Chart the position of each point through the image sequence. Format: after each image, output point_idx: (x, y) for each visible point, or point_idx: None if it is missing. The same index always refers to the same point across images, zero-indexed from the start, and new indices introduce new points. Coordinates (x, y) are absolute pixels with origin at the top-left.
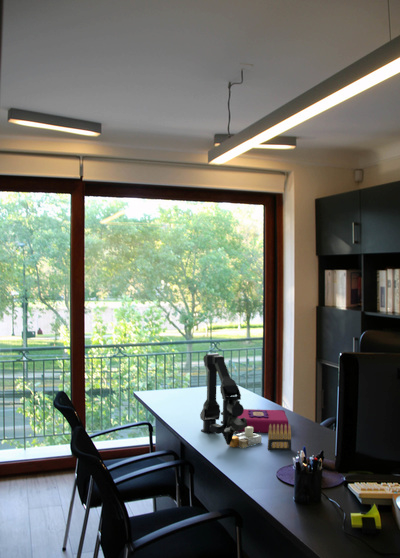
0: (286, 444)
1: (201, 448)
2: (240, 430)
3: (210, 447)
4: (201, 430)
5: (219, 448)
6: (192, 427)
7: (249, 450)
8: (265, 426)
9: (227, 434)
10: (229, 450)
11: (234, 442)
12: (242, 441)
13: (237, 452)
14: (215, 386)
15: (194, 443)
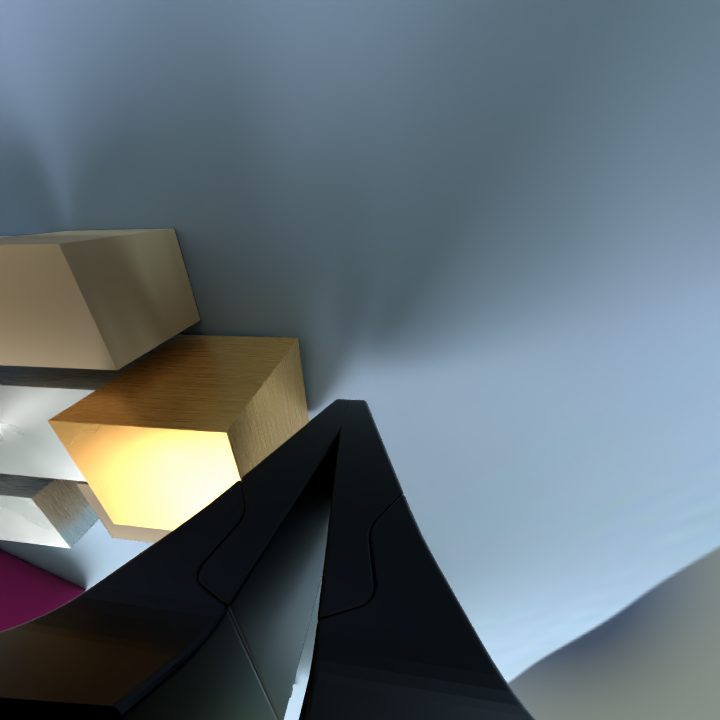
0: None
1: (647, 547)
2: (7, 576)
3: (535, 511)
4: (291, 692)
5: (481, 433)
6: (298, 716)
7: (86, 14)
8: None
9: (523, 707)
10: (435, 285)
11: (240, 376)
12: (55, 266)
13: (396, 76)
14: None
15: (544, 632)
